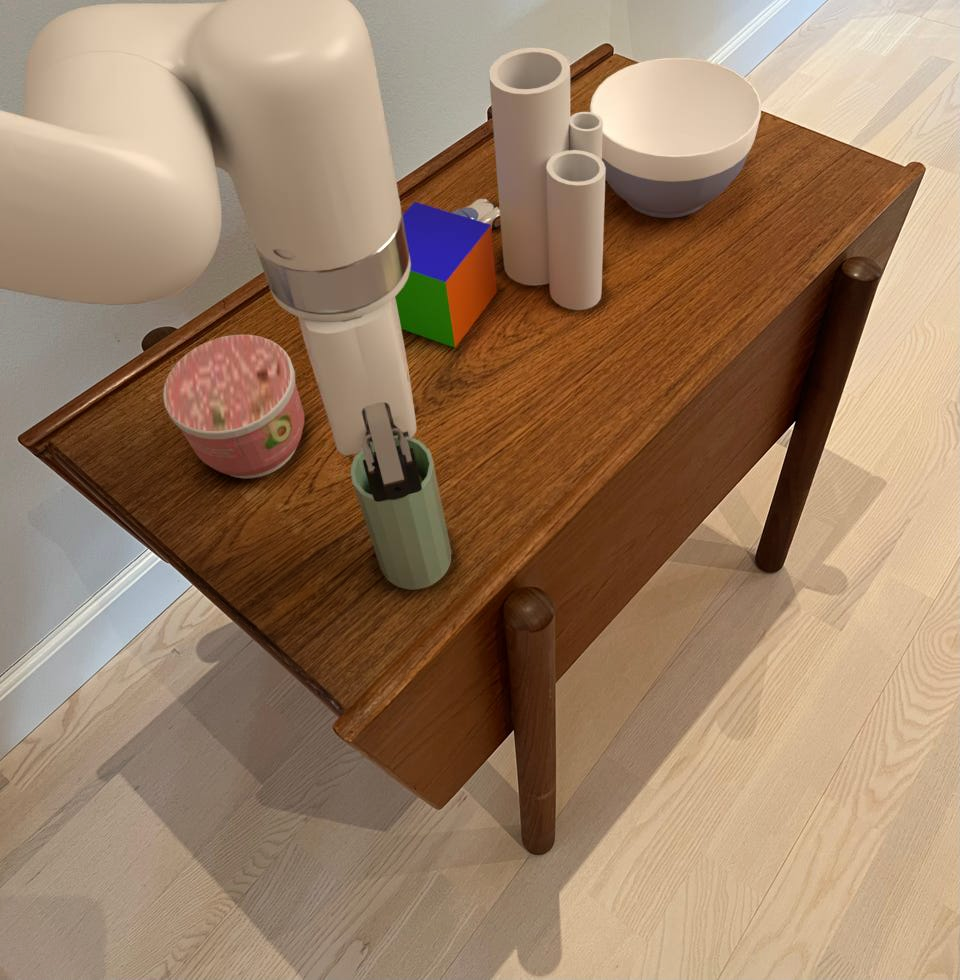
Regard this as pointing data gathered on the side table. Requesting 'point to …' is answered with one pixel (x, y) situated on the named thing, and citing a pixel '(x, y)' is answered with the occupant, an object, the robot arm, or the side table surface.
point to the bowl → (675, 132)
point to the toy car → (482, 212)
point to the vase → (548, 178)
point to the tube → (407, 525)
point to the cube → (445, 274)
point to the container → (237, 404)
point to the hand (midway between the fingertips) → (389, 460)
